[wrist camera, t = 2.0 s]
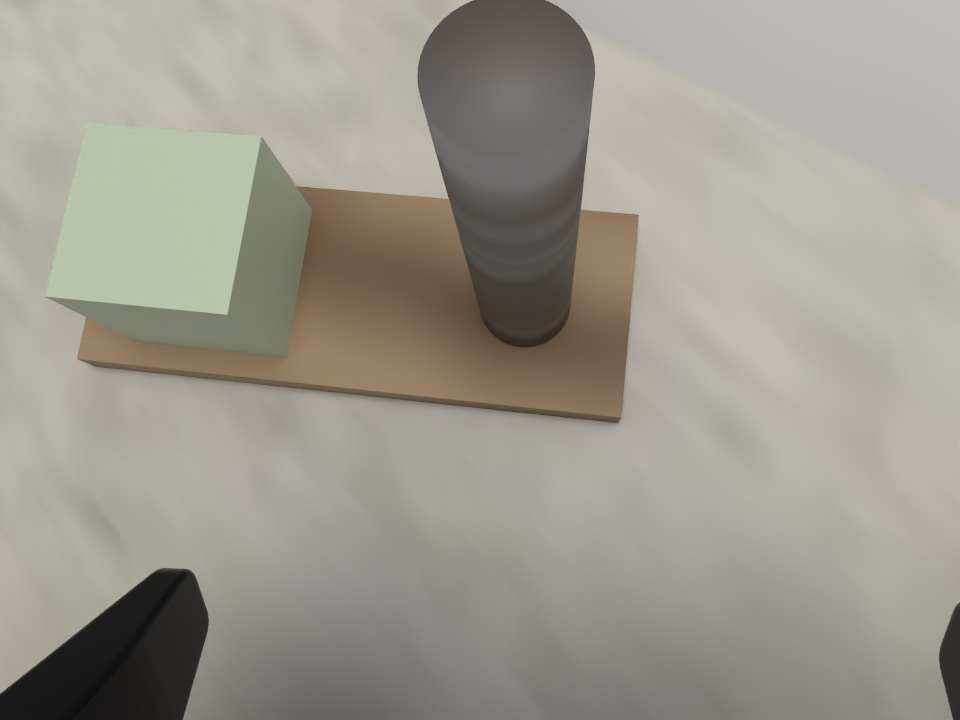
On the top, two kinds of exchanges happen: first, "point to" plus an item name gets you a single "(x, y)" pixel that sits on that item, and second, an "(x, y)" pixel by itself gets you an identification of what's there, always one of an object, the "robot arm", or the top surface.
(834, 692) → the top surface
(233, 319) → the sage cube
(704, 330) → the top surface
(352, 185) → the top surface
